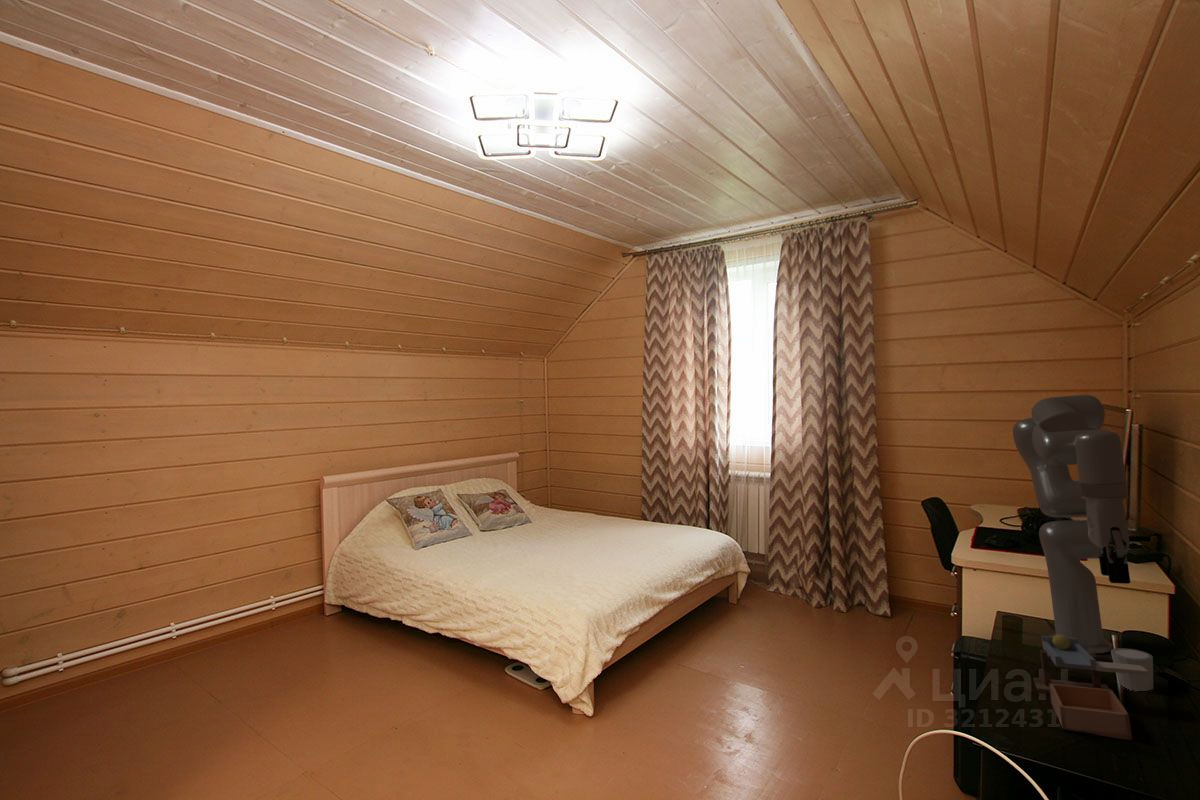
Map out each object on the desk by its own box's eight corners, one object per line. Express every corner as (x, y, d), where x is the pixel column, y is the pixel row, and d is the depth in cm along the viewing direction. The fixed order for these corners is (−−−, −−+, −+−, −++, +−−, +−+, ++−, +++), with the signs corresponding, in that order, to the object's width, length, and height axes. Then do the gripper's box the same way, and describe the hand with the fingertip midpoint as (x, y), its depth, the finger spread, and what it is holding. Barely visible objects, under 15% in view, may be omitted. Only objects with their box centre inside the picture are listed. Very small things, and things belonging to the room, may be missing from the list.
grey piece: (1042, 652, 138) (1040, 635, 138) (1125, 659, 131) (1122, 641, 131) (1056, 670, 123) (1053, 651, 123) (1149, 679, 116) (1146, 659, 116)
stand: (1033, 681, 134) (1029, 645, 134) (1107, 688, 128) (1102, 651, 128) (1038, 692, 129) (1033, 654, 129) (1115, 700, 122) (1109, 661, 123)
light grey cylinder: (1165, 693, 124) (1161, 659, 124) (1128, 693, 125) (1123, 659, 125) (1143, 679, 130) (1138, 647, 131) (1107, 679, 132) (1103, 647, 132)
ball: (1053, 650, 136) (1050, 635, 137) (1070, 651, 134) (1067, 636, 136) (1054, 647, 133) (1051, 632, 135) (1072, 648, 132) (1069, 633, 133)
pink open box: (1051, 705, 123) (1048, 683, 123) (1114, 712, 118) (1111, 689, 118) (1062, 731, 113) (1059, 707, 113) (1132, 740, 108) (1129, 715, 108)
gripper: (1071, 487, 132) (1082, 568, 131) (1091, 497, 117) (1103, 589, 116) (1115, 486, 129) (1126, 569, 128) (1140, 496, 114) (1153, 591, 113)
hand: (1115, 578), depth 122 cm, fingers open, 5 cm apart
